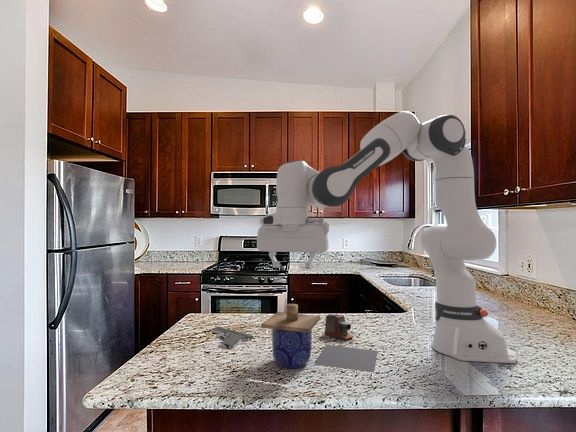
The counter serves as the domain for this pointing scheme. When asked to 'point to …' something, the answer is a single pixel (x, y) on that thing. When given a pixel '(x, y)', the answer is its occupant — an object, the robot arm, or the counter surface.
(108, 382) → the counter surface
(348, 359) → the mat
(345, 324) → the electronic device
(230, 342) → the handgun
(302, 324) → the lid
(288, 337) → the planter
